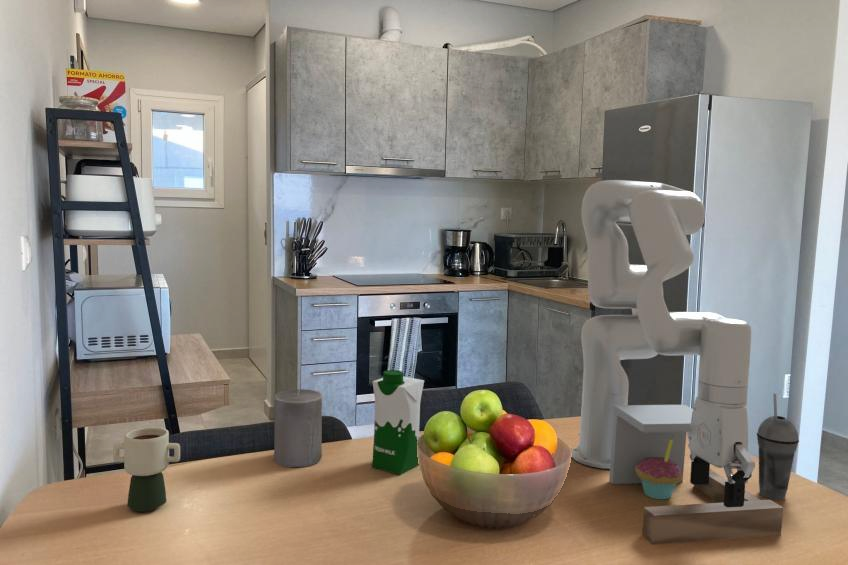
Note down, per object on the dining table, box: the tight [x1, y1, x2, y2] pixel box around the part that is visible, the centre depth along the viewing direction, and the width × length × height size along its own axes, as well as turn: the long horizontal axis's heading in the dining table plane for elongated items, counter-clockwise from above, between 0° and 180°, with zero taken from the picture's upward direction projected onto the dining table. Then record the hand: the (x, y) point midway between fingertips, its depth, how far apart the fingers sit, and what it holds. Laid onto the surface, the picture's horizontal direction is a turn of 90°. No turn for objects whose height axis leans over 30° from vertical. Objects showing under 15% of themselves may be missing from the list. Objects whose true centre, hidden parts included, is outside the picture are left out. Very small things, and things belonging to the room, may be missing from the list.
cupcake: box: [635, 436, 684, 500], centre depth 131 cm, size 9×8×12 cm
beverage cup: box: [756, 393, 800, 501], centre depth 132 cm, size 7×7×20 cm
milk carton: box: [371, 369, 425, 476], centre depth 140 cm, size 9×9×20 cm
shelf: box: [608, 404, 693, 485], centre depth 132 cm, size 12×15×16 cm
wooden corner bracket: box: [641, 469, 784, 545], centre depth 124 cm, size 21×24×5 cm
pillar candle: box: [273, 388, 323, 468], centre depth 142 cm, size 10×10×15 cm
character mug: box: [112, 426, 181, 512], centre depth 117 cm, size 11×7×13 cm, turn 97°
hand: (715, 494), depth 114 cm, fingers open, 9 cm apart
